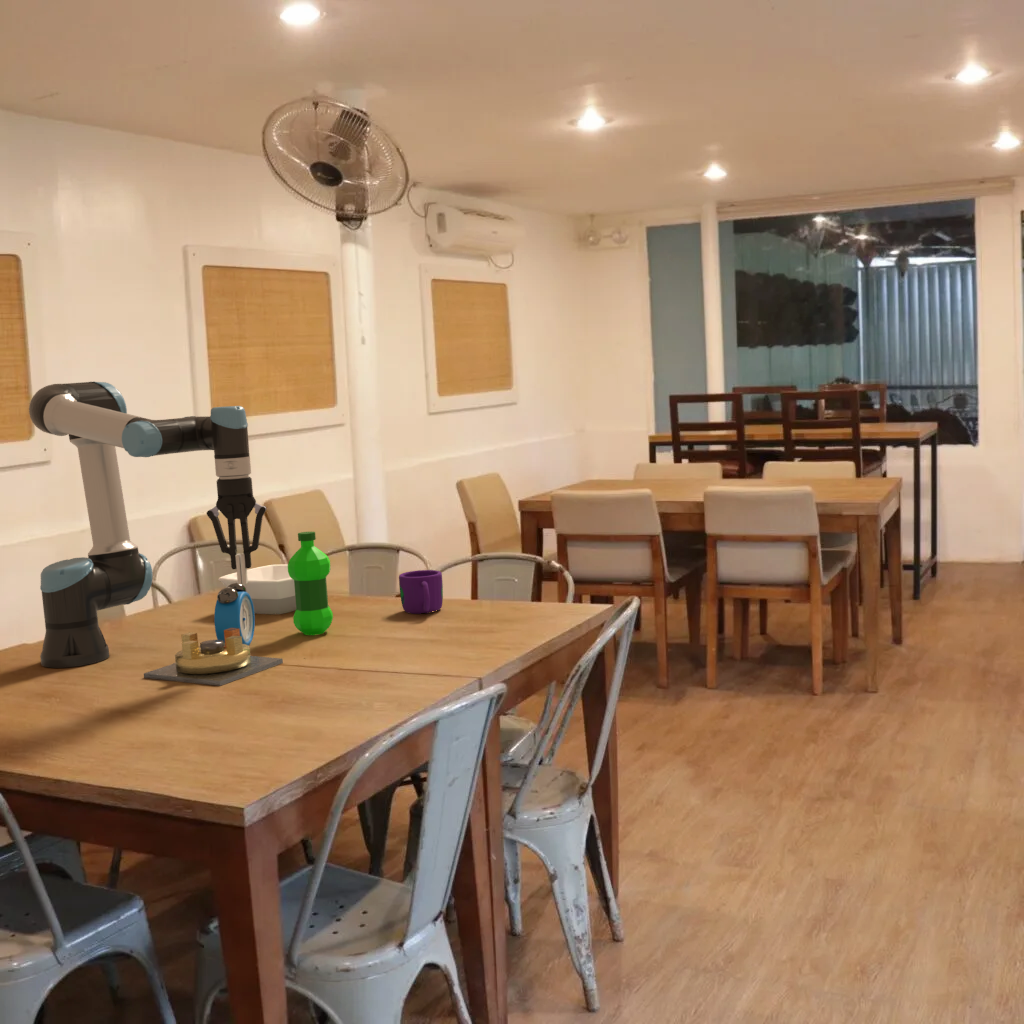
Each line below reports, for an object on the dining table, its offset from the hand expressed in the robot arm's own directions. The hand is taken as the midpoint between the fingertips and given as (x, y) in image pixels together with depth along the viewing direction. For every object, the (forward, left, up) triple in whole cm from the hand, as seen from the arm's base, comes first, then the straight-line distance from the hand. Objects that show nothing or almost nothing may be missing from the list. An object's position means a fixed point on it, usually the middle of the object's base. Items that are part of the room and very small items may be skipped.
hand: (242, 583), depth 270 cm
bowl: (-38, +54, -19) cm, 68 cm away
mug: (+7, +59, -19) cm, 62 cm away
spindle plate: (-5, -6, -18) cm, 20 cm away
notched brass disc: (-4, -7, -17) cm, 19 cm away
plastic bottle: (-7, +31, -19) cm, 37 cm away
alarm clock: (-16, +13, -19) cm, 27 cm away
